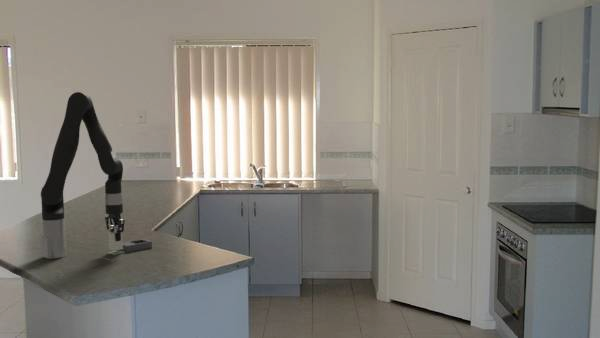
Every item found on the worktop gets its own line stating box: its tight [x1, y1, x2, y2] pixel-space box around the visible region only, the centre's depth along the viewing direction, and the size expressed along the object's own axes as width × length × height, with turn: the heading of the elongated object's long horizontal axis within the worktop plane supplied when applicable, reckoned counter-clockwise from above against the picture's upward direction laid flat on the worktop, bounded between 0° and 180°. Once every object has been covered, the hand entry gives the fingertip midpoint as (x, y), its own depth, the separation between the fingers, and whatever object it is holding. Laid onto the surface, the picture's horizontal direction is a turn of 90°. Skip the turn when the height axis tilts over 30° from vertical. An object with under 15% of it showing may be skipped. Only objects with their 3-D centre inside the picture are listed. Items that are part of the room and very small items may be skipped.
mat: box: [106, 250, 127, 256], centre depth 296 cm, size 6×6×1 cm
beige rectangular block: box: [107, 231, 124, 251], centre depth 296 cm, size 4×4×8 cm
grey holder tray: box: [120, 238, 153, 253], centre depth 303 cm, size 13×8×4 cm, turn 134°
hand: (115, 240), depth 296 cm, fingers closed on beige rectangular block, 4 cm apart
